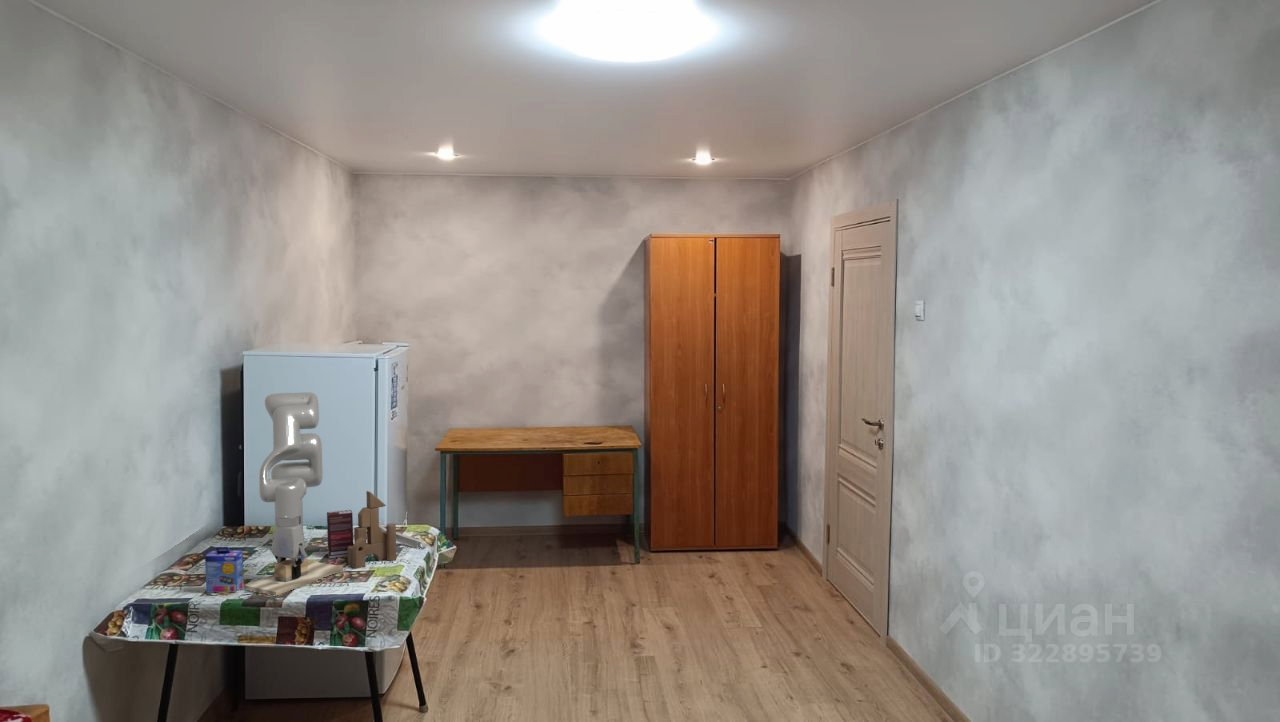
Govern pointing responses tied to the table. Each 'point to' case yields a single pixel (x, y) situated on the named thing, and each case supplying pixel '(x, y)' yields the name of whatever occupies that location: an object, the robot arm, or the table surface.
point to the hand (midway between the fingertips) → (290, 575)
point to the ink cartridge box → (224, 570)
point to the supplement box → (339, 533)
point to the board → (279, 587)
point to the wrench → (406, 539)
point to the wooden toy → (372, 536)
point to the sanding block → (288, 569)
